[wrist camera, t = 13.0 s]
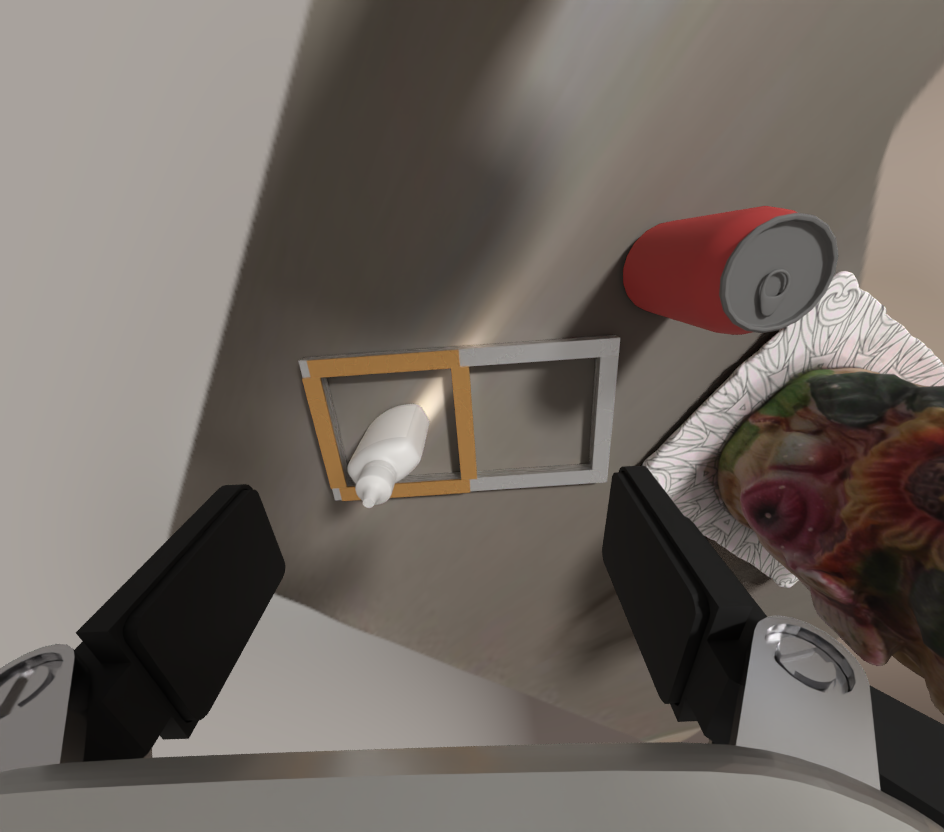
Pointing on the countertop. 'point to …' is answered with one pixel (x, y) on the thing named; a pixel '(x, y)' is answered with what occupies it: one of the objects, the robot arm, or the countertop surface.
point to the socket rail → (466, 411)
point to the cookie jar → (831, 475)
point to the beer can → (733, 269)
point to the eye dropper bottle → (388, 452)
